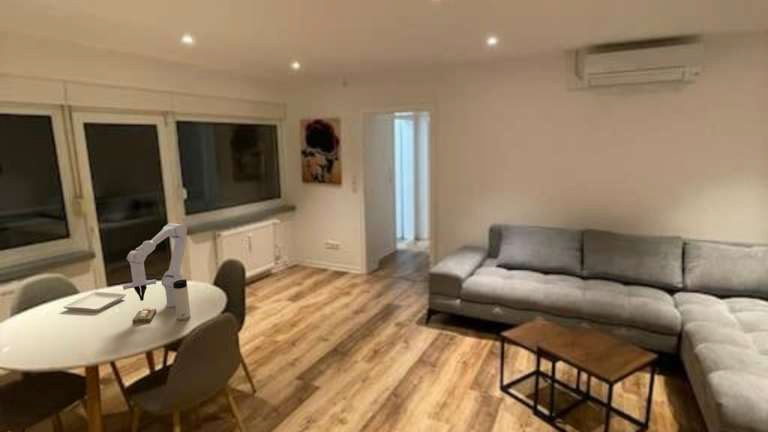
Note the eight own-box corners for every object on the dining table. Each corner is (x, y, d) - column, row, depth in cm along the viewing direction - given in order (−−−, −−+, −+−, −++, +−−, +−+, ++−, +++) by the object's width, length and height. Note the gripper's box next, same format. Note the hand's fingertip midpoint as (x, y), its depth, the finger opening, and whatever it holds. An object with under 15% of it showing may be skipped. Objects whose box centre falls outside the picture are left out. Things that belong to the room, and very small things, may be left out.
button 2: (150, 313, 221) (149, 307, 221) (149, 315, 219) (148, 309, 218) (144, 313, 221) (143, 308, 220) (142, 316, 218) (141, 310, 217)
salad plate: (98, 314, 222) (97, 308, 222) (62, 312, 226) (61, 306, 225) (128, 299, 243) (127, 293, 242) (95, 297, 246) (94, 291, 246)
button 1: (147, 319, 214) (146, 313, 214) (145, 321, 211) (144, 315, 211) (140, 319, 213) (139, 314, 213) (138, 322, 211) (138, 316, 210)
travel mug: (185, 321, 212) (181, 282, 208) (174, 320, 213) (169, 282, 210) (193, 316, 218) (189, 278, 214) (182, 315, 219) (178, 277, 216)
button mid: (148, 316, 218) (148, 310, 217) (147, 318, 215) (146, 312, 214) (142, 316, 217) (141, 311, 217) (140, 319, 214) (140, 313, 214)
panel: (156, 312, 223) (155, 309, 223) (150, 322, 212) (150, 318, 211) (139, 314, 221) (138, 310, 220) (132, 324, 209) (132, 320, 209)
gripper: (153, 269, 221) (156, 294, 224) (121, 275, 213) (124, 300, 216) (155, 273, 216) (158, 298, 218) (122, 278, 208) (125, 305, 210)
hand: (141, 300), depth 217 cm, fingers closed
